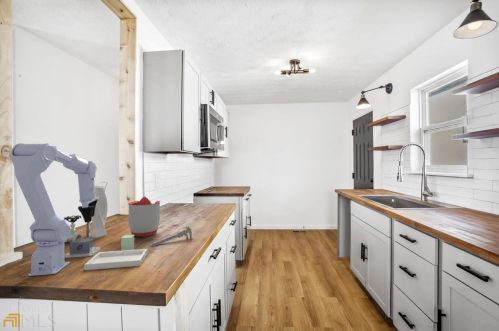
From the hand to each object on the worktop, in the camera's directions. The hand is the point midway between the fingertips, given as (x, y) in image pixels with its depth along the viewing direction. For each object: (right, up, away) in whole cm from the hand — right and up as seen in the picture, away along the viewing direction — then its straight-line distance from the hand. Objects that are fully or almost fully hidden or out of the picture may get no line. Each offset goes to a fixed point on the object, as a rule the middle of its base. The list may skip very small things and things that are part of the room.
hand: (89, 219), depth 104 cm
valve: (-14, -13, +9) cm, 21 cm away
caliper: (+33, -13, +9) cm, 37 cm away
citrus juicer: (+15, -13, +22) cm, 30 cm away
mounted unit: (+2, -13, -6) cm, 14 cm away
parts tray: (+21, -13, -14) cm, 28 cm away
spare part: (+18, -13, -3) cm, 22 cm away
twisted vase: (-8, -13, +18) cm, 24 cm away
